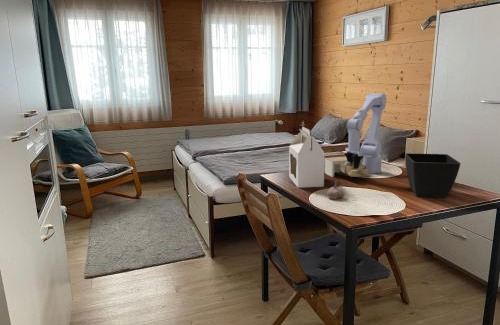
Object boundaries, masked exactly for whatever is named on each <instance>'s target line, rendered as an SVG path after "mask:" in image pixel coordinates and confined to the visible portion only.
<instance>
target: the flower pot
mask: <svg viewBox="0 0 500 325" xmlns="http://www.w3.org/2000/svg"><path fill="white" fill-rule="evenodd" d="M404 156H405V159H404V161H405V168H406V174H407V179H408V180H407V181H408V184H409V187H410V190H411V191H412V193H413V194H414V196H416V197H418V198H419V197H421V198H442V199H443V198H445V199H447V197H448V195H449V194H450V192H451V190H452V188H453V186H454V184H455V182H456V179H457V176H458V175H459V170H460V168H461V162H459V161H458V160H457V159H455V158H454V157H452V156H450V155H449V154H446V153H407V152H406V153H405V154H404Z"/></svg>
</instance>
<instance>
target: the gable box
mask: <svg viewBox="0 0 500 325" xmlns="http://www.w3.org/2000/svg"><path fill="white" fill-rule="evenodd" d="M299 131H300V132H298V133H297V135H296V136H295V138H294V139H293V141H292V142H291V144H290V145H289V146H288V148H289V149H288V150H289V153H288V157H289V160H288V161H289V162H288V168H289V169H288V174H289V176H288V178H290V179H291V181H292V182H293V183H294V184H295V186H296V187H297V188H300V189H302V188H321V187H325V173H324V165H325V151H324V150H323V149H322V147H321V145H320V144H319V142H318V141H317V139H316V138H315V136H312V130H311V129H309V128H306V127H305V126H302V127H301V128H299Z"/></svg>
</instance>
